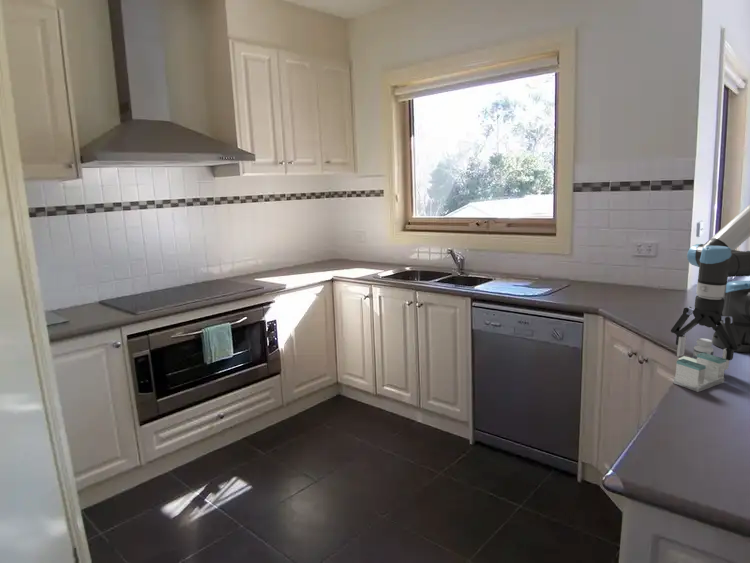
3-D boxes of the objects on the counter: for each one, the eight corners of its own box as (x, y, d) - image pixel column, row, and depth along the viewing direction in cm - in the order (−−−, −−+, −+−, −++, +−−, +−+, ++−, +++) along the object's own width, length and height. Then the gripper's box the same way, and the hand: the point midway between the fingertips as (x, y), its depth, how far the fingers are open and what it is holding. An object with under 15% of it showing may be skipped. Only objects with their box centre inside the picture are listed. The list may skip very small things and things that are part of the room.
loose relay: (682, 367, 164) (683, 355, 163) (699, 372, 160) (701, 360, 159) (676, 371, 162) (677, 358, 161) (693, 375, 158) (695, 363, 157)
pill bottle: (704, 363, 167) (707, 337, 165) (715, 369, 162) (718, 342, 160) (688, 364, 167) (691, 337, 165) (698, 370, 161) (701, 343, 160)
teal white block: (699, 374, 158) (702, 352, 157) (724, 382, 152) (727, 359, 151) (673, 383, 152) (675, 360, 151) (697, 392, 146) (700, 368, 145)
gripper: (663, 290, 168) (656, 352, 173) (748, 307, 147) (737, 378, 151) (677, 287, 172) (670, 348, 176) (762, 303, 150) (751, 373, 155)
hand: (701, 362), depth 164 cm, fingers open, 13 cm apart
